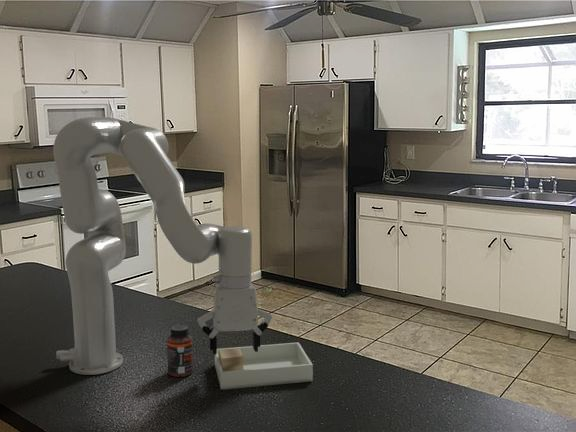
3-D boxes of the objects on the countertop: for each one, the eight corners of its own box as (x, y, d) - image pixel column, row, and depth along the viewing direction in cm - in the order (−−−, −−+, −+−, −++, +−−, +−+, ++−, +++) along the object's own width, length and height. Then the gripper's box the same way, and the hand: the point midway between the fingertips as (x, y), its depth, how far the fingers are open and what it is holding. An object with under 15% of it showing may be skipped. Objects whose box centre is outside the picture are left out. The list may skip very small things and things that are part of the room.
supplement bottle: (188, 379, 144) (186, 332, 142) (164, 377, 145) (162, 330, 143) (196, 368, 149) (195, 324, 148) (173, 366, 151) (172, 322, 149)
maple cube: (222, 378, 142) (221, 358, 142) (219, 370, 147) (219, 350, 146) (243, 376, 144) (243, 356, 143) (240, 368, 148) (240, 348, 147)
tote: (220, 389, 138) (220, 372, 138) (214, 364, 152) (214, 349, 151) (312, 381, 143) (312, 364, 142) (298, 357, 156) (298, 342, 156)
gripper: (198, 286, 137) (199, 360, 140) (275, 283, 140) (274, 354, 143) (196, 277, 144) (196, 347, 147) (269, 274, 148) (268, 342, 151)
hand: (235, 351), depth 145 cm, fingers open, 9 cm apart
